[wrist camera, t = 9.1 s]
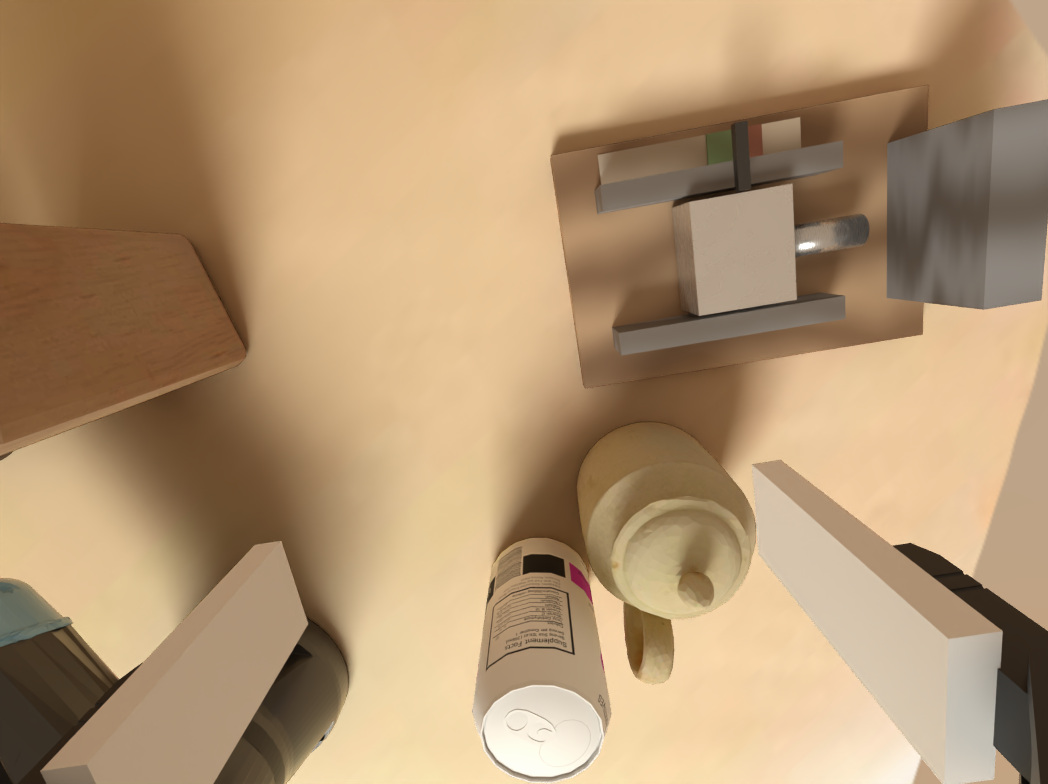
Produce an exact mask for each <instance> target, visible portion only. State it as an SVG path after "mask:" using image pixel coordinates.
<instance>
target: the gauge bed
mask: <svg viewBox="0 0 1048 784" xmlns="http://www.w3.org/2000/svg"><path fill="white" fill-rule="evenodd" d="M747 120H748V137H749V155H750V173H751V189H748V190H743V191H737V192H735V182H734V167H733V151H732V136H731V125H732V124H734V123H736V122H742V121H747ZM927 127H928V85H924V86H919V87H913V88H908V89H903V90H897V91H892V92H887V93H882V94H876V95H871V96H866V97H860V98H855V99H850V100H844V101H839V102H834V103H828V104H823V105H818V106H812V107H807V108H802V109H796V110H791V111H786V112H780V113H775V114H770V115H764V116H759V117H754V118H748V119H743V120H738V121H732V122H727V123H722V124H716V125H711V126H706V127H700V128H695V129H690V130H684V131H679V132H674V133H668V134H663V135H658V136H653V137H647V138H642V139H637V140H631V141H626V142H621V143H615V144H610V145H605V146H599V147H594V148H589V149H583V150H578V151H573V152H567V153H562V154H557V155H551V159H550V160H551V167H552V174H553V181H554V188H555V195H556V201H557V208H558V215H559V222H560V229H561V236H562V242H563V249H564V256H565V263H566V270H567V277H568V284H569V290H570V297H571V304H572V311H573V318H574V325H575V331H576V338H577V345H578V352H579V359H580V366H581V372H582V379H583V385H584V387H585V389H586V388H592V387H598V386H604V385H610V384H617V383H623V382H629V381H635V380H642V379H648V378H654V377H660V376H667V375H673V374H679V373H685V372H692V371H698V370H704V369H710V368H717V367H723V366H729V365H735V364H741V363H748V362H754V361H760V360H766V359H773V358H779V357H785V356H791V355H798V354H804V353H810V352H816V351H823V350H829V349H835V348H841V347H848V346H854V345H860V344H866V343H872V342H879V341H885V340H891V339H897V338H904V337H910V336H916V335H922V334H923V302H925V303H933V304H941V305H950V306H958V307H967V308H975V309H990V308H996V307H1002V306H1008V305H1015V304H1021V303H1027V302H1033V301H1039V300H1041V298H1042V285H1043V273H1044V260H1045V248H1046V235H1047V223H1048V100H1042V101H1037V102H1031V103H1026V104H1021V105H1015V106H1010V107H1004V108H999V109H994V110H991V111H987V112H984V113H981V114H978V115H975V116H972V117H969V118H965V119H962V120H959V121H956V122H953V123H950V124H947V125H943V126H940V127H937V128H934V129H931V130H928V131H927ZM787 184H792V185H793V211H794V225H797V224H803V223H809V222H814V221H820V220H826V219H831V218H837V217H843V216H849V215H854V214H863V215H865V216H866V218H867V219H868V222H869V229H870V230H869V237H868V239H867V241H866V243H865V244H864V245H862V246H858V247H852V248H847V249H841V250H835V251H829V252H823V253H817V254H812V255H806V256H800V257H795V265H796V291H797V300H792V301H786V302H780V303H774V304H768V305H762V306H756V307H750V308H744V309H738V310H732V311H726V312H720V313H714V314H708V315H702V316H698V315H695V314H692V313H689V312H687V311H684V310H681V302H680V291H679V280H678V270H677V259H676V248H675V237H674V227H673V216H672V208H673V207H676V206H679V205H682V204H685V203H688V202H692V201H698V200H703V199H709V198H714V197H720V196H726V195H731V194H737V193H742V192H748V191H753V190H759V189H765V188H770V187H776V186H781V185H787Z"/></svg>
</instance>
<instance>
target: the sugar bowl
mask: <svg viewBox="0 0 1048 784" xmlns="http://www.w3.org/2000/svg"><path fill="white" fill-rule="evenodd" d="M577 497H578V504H579V513H580V520H581V527H582V532H583V538H584V542H585V546H586V551H587V556H588V558H589V561H590V564H591V567H592V570H593V572H594V573H595V575H596V576H597V578H598V579H599V581H600V582H601V584H602V585H603V586H604V587H605V588H606V589H607V590H608V591H609V592H610V593H612V594H613V595H614V596H615V597H617V598H619V599H620V600H622V601H623V602H624V630H625V641H626V647H627V655H628V659H629V663H630V666H631V669H632V671H633V674H634V675H635V677H636V678H637V679H639V680H640V681H642V682H644V683H647V684H653V685H654V684H659V683H664V682H665V681H666V680H667V679H668V678H669V676H670V674H671V671H672V668H673V658H674V637H673V631H672V625H671V619H687V618H693V617H697V616H700V615H703V614H706V613H708V612H711V611H713V610H714V609H716V608H718V607H719V606H721V605H723V604H724V603H726V602H727V601H728V600H729V599H730V598H731V597H732V596H733V595H734V594H735V593H736V591H737V590H738V589H739V588H740V586H741V584H742V583H743V581H744V579H745V577H746V575H747V573H748V570H749V566H750V563H751V558H752V555H753V551H754V547H755V543H756V523H755V518H754V514H753V511H752V508H751V506H750V504H749V502H748V500H747V498H746V496H745V495H744V493H743V492H742V490H741V489H740V488H739V487H738V485H737V484H736V483H735V482H734V481H733V479H732V478H731V477H730V476H729V475H728V473H727V472H726V471H725V470H724V469H723V468H722V466H721V465H720V464H719V463H718V462H717V461H716V460H715V459H714V458H713V457H712V456H711V455H710V454H709V453H708V452H707V451H706V450H705V449H704V448H703V447H702V446H701V445H700V444H699V443H698V442H697V440H696V439H694V438H693V437H692V436H690V435H689V434H688V433H686V432H684V431H683V430H681V429H679V428H676V427H674V426H671V425H668V424H665V423H657V422H639V423H633V424H630V425H626V426H623V427H620V428H617V429H615V430H613V431H612V432H610V433H608V434H607V435H606V436H604V437H603V438H602V439H600V440H599V441H598V442H597V443H596V444H595V445H594V446H593V447H592V448H591V449H590V451H589V452H588V454H587V455H586V457H585V458H584V461H583V463H582V465H581V467H580V471H579V475H578V479H577Z"/></svg>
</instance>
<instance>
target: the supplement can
mask: <svg viewBox="0 0 1048 784" xmlns="http://www.w3.org/2000/svg"><path fill="white" fill-rule="evenodd" d="M472 712H473V716H474V721H475V725H476V729H477V732H478V734H479V736H480V738H481V740H482V744H483V748H484V752H485V753H486V754H487V756H488V757H489V758H490V760H491V761H492V762H493V764H494V765H495V766H496V767H498V768H499V769H501V770H502V771H503V772H505V773H506V774H508V775H509V776H511V777H514V778H517V779H520V780H524V781H527V782H530V783H554V782H558V781H562V780H566V779H569V778H572V777H574V776H576V775H577V774H579V773H580V772H582V771H584V770H585V769H587V768H588V767H589V766H590V765H591V764H592V762H593V761H594V760H595V759H596V757H597V756H598V755H599V754H600V750H601V747H602V743H603V740H604V736H605V734H606V732H607V728H608V724H609V721H610V717H611V708H610V702H609V695H608V689H607V683H606V678H605V672H604V666H603V660H602V654H601V648H600V643H599V637H598V631H597V625H596V619H595V613H594V608H593V602H592V596H591V590H590V584H589V578H588V573H587V567H586V566H585V564H584V562H583V561H582V559H581V557H580V556H579V554H578V553H577V552H575V551H574V550H573V549H571V548H570V547H569V546H568V545H566V544H565V543H562V542H559V541H556V540H553V539H550V538H529V539H526V540H522V541H519V542H516V543H514V544H512V545H511V546H510V547H508V548H507V549H506V550H504V551H503V552H502V553H501V554H500V555H499V557H498V558H497V560H496V561H495V563H494V565H493V566H492V571H491V577H490V582H489V590H488V597H487V605H486V612H485V620H484V627H483V635H482V642H481V649H480V657H479V664H478V672H477V679H476V687H475V694H474V702H473V709H472Z"/></svg>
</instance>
